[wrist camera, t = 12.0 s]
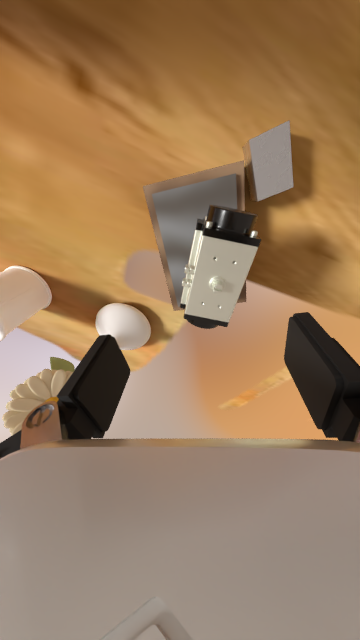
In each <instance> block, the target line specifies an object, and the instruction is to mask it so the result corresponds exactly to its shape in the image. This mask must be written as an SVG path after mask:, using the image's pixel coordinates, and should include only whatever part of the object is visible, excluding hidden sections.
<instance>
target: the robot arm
mask: <svg viewBox="0 0 360 640" xmlns="http://www.w3.org/2000/svg"><path fill="white" fill-rule="evenodd" d="M284 360H285V364H286V366H287V368H288V370H289V372H290V374H291V376H292V378H293V380H294V382H295V384H296V386H297V388H298V390H299V392H300V394H301V396H302V398H303V400H304V403H305V405H306V407H307V408H308V411H309V413H310V415H311V417H312V419H313V421H314V423H315V425H316V426H317V428H318V429H322V430H323V432H324V434H325V436H326V438H327V437H329V438H332V437H333V438H334V437H335V438H338V440H339V441H336V440H308V439H91V437H93V438H103V436H104V434H105V431H107V430H108V429H109V427H110V424H111V421H112V419H113V416H114V414H115V411H116V408H117V406H118V403H119V401H120V398H121V396H122V393H123V390H124V388H125V385H126V383H127V380H128V378H129V375H130V368H129V366H128V364H127V362H126V360H125V358H124V356H123V354H122V352H121V350H120V348H119V345H118V343H117V341H116V339H115V338H114V337H113V336H111V335H110V334H108V335H100V336H99V337H98V338H97V339H96V341H95V342H94V344H93V345H92V346H91V348H90V349H89V351H88V352H87V354H86V355H85V356H84V358H83V359H82V361H81V362H80V364H79V365H78V366H77V368H76V369H75V371H74V372H73V373H72V375H71V376H70V378H69V379H68V380H67V382H66V383H65V385H64V386H63V388H62V389H61V390H60V392H59V393H58V395H57V398H58V399H59V400H58V401H57V402H55V401H47V402H44V403H42V404H40V405H38V406H37V407H35V408H34V409H33V410H32V411H31V412H30V413H29V414H28V415H27V416H26V418H25V419H24V421H23V424H22V430H20V431H18V432H17V433H15V434H14V435H12V436H11V437H9V438H8V439H6V440H5V441H3V442H2V443H0V640H360V366H359V365H358V364H357V363H356V362H355V360H354V359H353V358H352V357H351V356H350V355H349V354H348V353H347V352H346V350H345V349H344V348H343V347H342V346H341V345H340V344H339V343H338V342H337V341H336V340H335V339H334V338H331V337H330V336H329V335H328V334H327V333H326V332H325V330H324V329H323V328H322V327H321V326H320V325H319V324H318V322H317V321H316V320H315V319H314V318H313V317H312V316H311V315H310V313H308V312H306V313H296V314H294V315H293V317H290V318H289V324H288V331H287V340H286V347H285V355H284Z"/></svg>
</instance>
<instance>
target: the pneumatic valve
mask: <svg viewBox="0 0 360 640" xmlns="http://www.w3.org/2000/svg"><path fill="white" fill-rule="evenodd" d="M257 218H258V215H256V214H253V213H250V212H246V211H242V210H238V209H233V208H228V207H223V206H218V205H209V209H208V213H207V216H206V217H205V219H204V218H203V219H198V218H197V223H196V228H195V233H194V238H193V243H192V248H191V253H190V258H189V263H188V265H187V264H186V266H185V271H184V273H186V278H183V282H182V286H184V288H183V292H182V298H181V303H180V308H183V309H185V312H184V319H187V321H188V322H190V323H191V324H193V325H195V326H197V327H200V328H206V329H210V328H215V327H217V326H218V325H219V326H224V327H227V326H228V323H229V321H230V318H231V315H232V313H233V310H234V307H235V305H236V303H237V300H238V298H239V295H240V293H241V290H242V288H243V285H244V283H245V280H246V277H247V275H248V272H249V270H250V267H251V265H252V262H253V260H254V257H255V255H256V252H257V250H258V247H259V244H260V242H261V239H260V238H259V237H258V236H257V234H258V232H257V231H253V229H254V226H255V223H256V220H257Z"/></svg>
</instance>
